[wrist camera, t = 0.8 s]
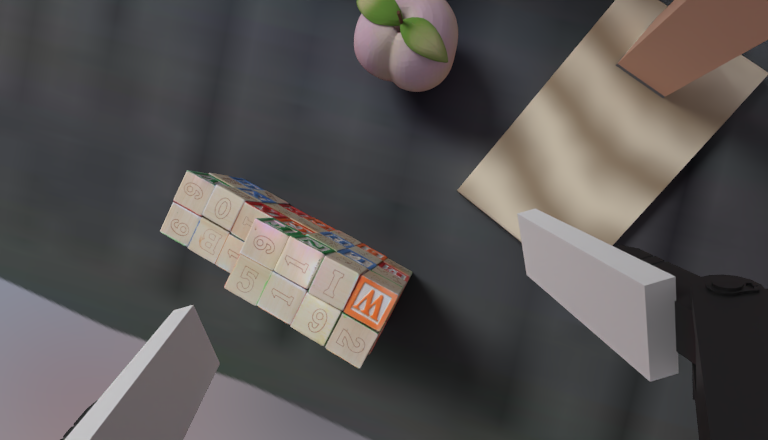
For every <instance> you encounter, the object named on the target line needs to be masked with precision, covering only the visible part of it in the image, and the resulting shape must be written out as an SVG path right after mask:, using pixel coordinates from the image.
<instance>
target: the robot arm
mask: <svg viewBox="0 0 768 440" xmlns="http://www.w3.org/2000/svg"><path fill="white" fill-rule="evenodd" d="M517 216H518V223H519V229H520V235H521V241H522V248H523V254H524V260H525V267H526V273H527V276H529V277H530V278H531V279H532V280H533V281H534V282H536V283H537V284H538V285H539V286H540V287H541V288H542V289H544V290H545V291H546V292H547V293H548V294H549V295H551V296H552V297H553V298H554V299H555V300H556V301H558V302H559V303H560V304H561V305H562V306H563V307H564V308H566V309H567V310H568V311H569V312H570V313H571V314H573V315H574V316H575V317H576V318H577V319H578V320H579V321H581V322H582V323H583V324H584V325H585V326H586V327H588V328H589V329H590V330H591V331H592V332H593V333H594V334H596V335H597V336H598V337H599V338H600V339H601V340H603V341H604V342H605V343H606V344H607V345H608V346H609V347H611V348H612V349H613V350H614V351H615V352H616V353H618V354H619V355H620V356H621V357H622V358H623V359H625V360H626V361H627V362H628V363H629V364H630V365H631V366H633V367H634V368H635V369H636V370H637V371H638V372H640V373H641V374H642V375H643V376H644V377H645V378H646V379H648V380H649V381H650V382H651V381H654V380H658V379H661V378H664V377H667V376H671V375H674V374H677V373H679V369H678V353H680V354H681V355H682V356H684V357H685V358H687V359H688V360H689V361H691V362H692V373H693V399H694V400H695V403H696V413H697V423H698V433H699V440H768V289H765V288H764V287H763V286H762V285H761V284H759V283H756V282H754V281H752V280H750V279H746V278H742V277H738V276H730V275H709V276H704V277H700V276H698V275H695V274H693V273H691V272H689V271H687V270H684V269H682V268H680V267H678V266H676V265H673V264H671V263H669V262H664V260H662V259H660V258H658V257H656V256H654V257H653V255H651V254H649V253H647V252H645V251H642V250H640V249H638V248H633V247H628V246H623V245H619V246H615V247H614V246H612V245H609V244H607V243H605V242H603V241H601V240H599V239H597V238H595V237H593V236H591V235H589V234H587V233H585V232H583V231H581V230H579V229H577V228H575V227H572V226H570V225H568V224H566V223H564V222H562V221H560V220H558V219H556V218H554V217H552V216H550V215H548V214H546V213H544V212H542V211H540V210H538V209H536V208H535V209H532V210H528V211H524V212H521V213H517ZM219 364H220V363H219V360H218V358H217V356H216V354H215V352H214V349H213V347H212V345H211V343H210V341H209V338H208V336H207V334H206V332H205V330H204V327H203V325H202V323H201V321H200V319H199V316H198V314H197V312H196V310H195V307H194V305H191V306H187V307H184V308H180V309H177V310H174V311H173V312H172V313H171V314H170V315H169V317H168V318H167V319H166V320H165V321H164V323H163V324H162V325H161V326H160V327H159V328H158V330H157V331H156V332H155V333H154V334H153V336H152V337H151V338H150V339H149V340H148V341H147V343H146V344H145V345H144V346H143V347H142V349H141V350H140V351H139V352H138V353H137V354H136V356H135V357H134V358H133V359H132V360H131V362H130V363H129V364H128V365H127V366H126V367H125V369H124V370H123V371H122V372H121V373H120V375H119V376H118V377H117V378H116V379H115V380H114V382H113V383H112V384H111V385H110V387H109V388H108V389H107V390H106V391H105V392H104V394H103V395H102V396H101V397H100V398H99V399H98V400H97V401H96V402H95V403H93V404H92V405H91V406H90V407H89V408H87V409H86V410H85V411H84V413H83V414H82V415H81V416H80V417H79V418H78V420H77V421H76V422H75V423H74V426H73V427H71V428H70V429H69V430H68V431H67V432H66V434H65V435H64V436H63V439H60V440H183V439H184V437H185V435H186V433H187V431H188V428H189V426H190V424H191V422H192V420H193V418H194V416H195V414H196V412H197V410H198V408H199V406H200V403H201V401H202V399H203V397H204V395H205V393H206V391H207V389H208V387H209V385H210V383H211V380H212V378H213V376H214V374H215V372H216V370H217V368H218V366H219Z"/></svg>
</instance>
